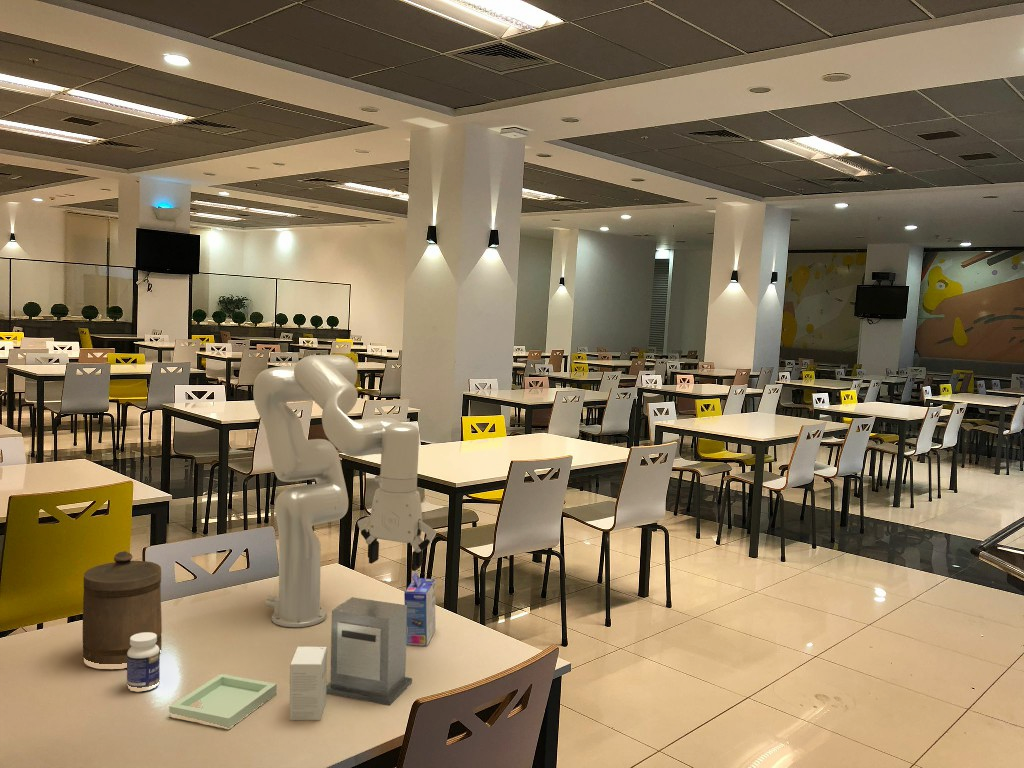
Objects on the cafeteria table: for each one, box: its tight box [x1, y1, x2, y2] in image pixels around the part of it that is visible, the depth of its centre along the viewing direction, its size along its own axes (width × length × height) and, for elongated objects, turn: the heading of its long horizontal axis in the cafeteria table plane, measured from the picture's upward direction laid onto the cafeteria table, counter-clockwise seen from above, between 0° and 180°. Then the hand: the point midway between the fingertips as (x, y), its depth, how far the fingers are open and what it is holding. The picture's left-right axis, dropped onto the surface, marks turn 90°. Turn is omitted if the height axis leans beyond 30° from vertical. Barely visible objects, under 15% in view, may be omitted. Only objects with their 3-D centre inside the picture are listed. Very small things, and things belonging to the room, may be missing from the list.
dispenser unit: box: [326, 596, 413, 706], centre depth 160 cm, size 14×10×16 cm
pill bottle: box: [126, 632, 161, 688], centre depth 158 cm, size 6×6×10 cm
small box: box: [289, 646, 328, 721], centre depth 150 cm, size 8×6×10 cm
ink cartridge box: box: [403, 571, 436, 647], centre depth 186 cm, size 10×6×14 cm, turn 174°
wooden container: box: [82, 550, 163, 664], centre depth 171 cm, size 15×15×22 cm
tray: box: [168, 673, 277, 728], centre depth 151 cm, size 12×14×2 cm
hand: (394, 565), depth 171 cm, fingers open, 9 cm apart
